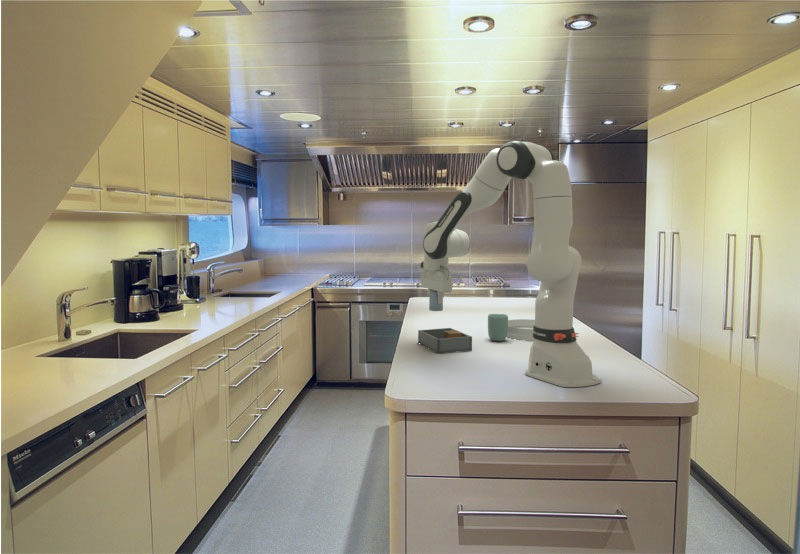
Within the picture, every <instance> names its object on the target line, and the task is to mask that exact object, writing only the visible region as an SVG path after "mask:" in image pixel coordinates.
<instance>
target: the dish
mask: <svg viewBox="0 0 800 554" xmlns="http://www.w3.org/2000/svg"><path fill="white" fill-rule="evenodd" d="M534 325H535V319H524V318H523V319H522V318H521V319H510V320H509V319H508V333H507V338H506V339H509V338H511V339H510V340H513V339H516V341H520V340H525V341H524V342H534V337H533V326H534Z"/></svg>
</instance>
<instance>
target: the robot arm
mask: <svg viewBox="0 0 800 554" xmlns="http://www.w3.org/2000/svg"><path fill="white" fill-rule="evenodd" d="M512 179H519V180H528V181H529V183H531V185H532V191H533V192H532V194H533V196H532V197H533V199H532V200H533V222H534V223H533V225H534V227H533V235H532V242H531V248H530V253H529V256H528V258H527V261H526V269H527V272H528V274H529V275H530V277H531V278H533V279H534V280H536V281H538V282H540V286H539V290H538V293H537V296H536V298H535V303H534V320H535V325H534V326H533V337H534V341H532V345H531V346H530V350H529V356H528V357H529V358H528V367H527V369H526V370H525V371H524V375H525V376H528V377H530V378H535V379H537V380H541V381H544V382H546V383H549V384H553V385H556V386H557V387H558V386H559V387H562V388H579V387H589V386H594V385H595V386H596V385H598V384H601V382H602V379H601V378H600V377H599V376H597V375H595V374H593V364H592V363H593V362H592V360H591V359H590V356H589V355H587V354H586V353H585V351H584V349H583V348H581V346H580V345H579V344H578V342H577V338H578V337H579V332H575V328H574V327H573V326H574V325H573V324H574V320H573V319H574V304H575V303H574V301H575V295H576V289H577V285H578V280H579V279H578V278H579V273H580V269H581V266H582V260H583V259H582V256H581V254H580V252H579V251H578V250H577V249H576V248H574V247H573V246H572V245H570V243H569V242H570V237H571V230H572V227H573V225H574V220H573V219H574V215H573V213H574V211H573V195H572V193H573V191H572V190H573V189H572V183H571V178H570V174H569V168H568V166H567V165H566V164H565V163H564V162H562V161H560V160H557V156H556V154H555V153H554V151H553V150H552V149H550V148H549V147H547V146H545V145H541V144H540V145H539V144H536V143H534V142H531V141H519V140H513V141H508V142H507V143H504V144H503V145H501V147H500V148H499V147H498V148H497V147H496V148H493V149H492V150H490V152H488V153H487V155H486V156H485V158H484V159H483V160H482V161H481V163H480V164H479V166H478V168H477V169H476V171H475V173H474V175H472V177H471V179H470V181H469V182H468V183H467V185H466V186H465V187H464V188H463V189H462V190H461V191H460V192H459V193H458V194H456V196H455V197H454V198H453V200H452V201H451V202H450V203H449V205H448V206H447V208H446V209H445V210H444V213H442V215H441V217H440V218H439V219H438V220H432V221H429V222H428V223H427V224H426V226H425V228H424V229H425V230H424V237H423V241H422V247H423V250H424V258H423V260H422V261H421V262H419V269H420V284H421V286H422V287H421V288H425V289H427V292H428V293H429V291H434V290H435V291H438V298H437V303H439V304H442V303H443V304H444V297H445V294H448V293H452V291H453V277H452V272H451V271H450V270H449V258H458V257H459V258H460V257H463V256H465V255H467V254H468V253H469V250H470V248H471V239H470V236H469V234H468V233H467V232H466V231H464V230H461V229H458V226H459V224H460V223H461V221H462V220H463V219H464V218H465V217H467V216H468V215H469V214H471V213H474V212H476V211H479V210H482V209H486V208H489V207H491V206H492V205H494V204H495V203H496V202H497V201H498V200H499V199H500V198H501V197H502V195H503V193H504V192H505V189H506V188H507V186H508V184H509V182H510V181H511V180H512Z"/></svg>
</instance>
